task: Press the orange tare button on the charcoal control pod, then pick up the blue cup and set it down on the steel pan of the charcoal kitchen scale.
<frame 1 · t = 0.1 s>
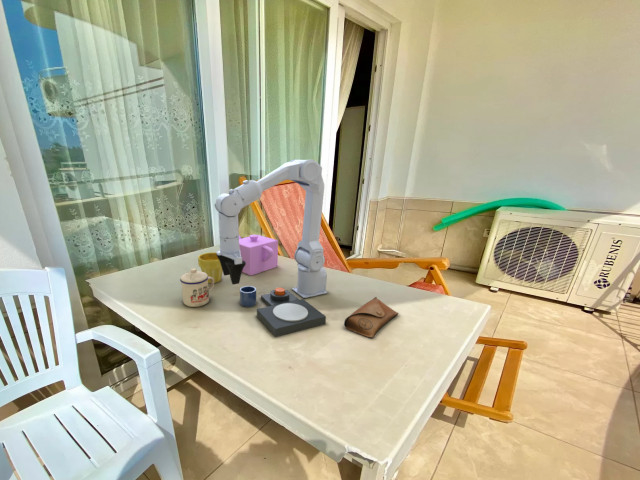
hand: (231, 279, 93), 10 cm above the table, tool pointing down, fingers open, 7 cm apart
flower pot: (213, 280, 119), on the table
blue cup: (248, 303, 99), on the table
scale: (290, 320, 89), on the table
teacup with lid: (200, 300, 103), on the table
sunglasses case: (372, 321, 87), on the table
tare button: (279, 291, 99), point 3 cm above the table, slide at 0.1 cm
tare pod: (279, 301, 100), on the table
teapot: (252, 266, 132), on the table
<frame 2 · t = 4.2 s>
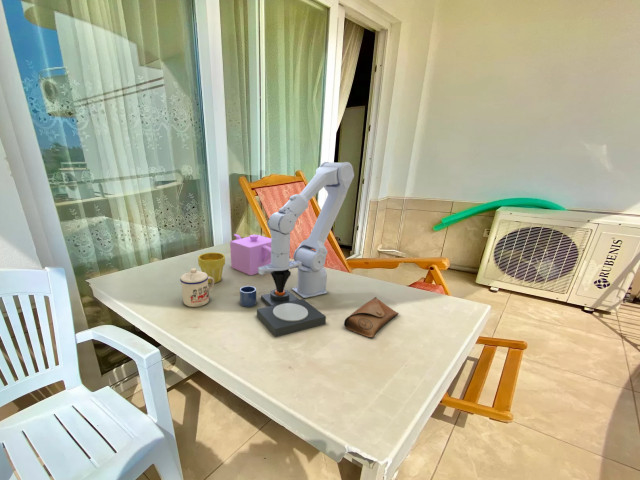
hand: (279, 291, 99), 4 cm above the table, tool pointing down, fingers closed, pressing on tare button
tare button: (279, 293, 99), point 3 cm above the table, slide at -0.5 cm, touching gripper
everything else where it was.
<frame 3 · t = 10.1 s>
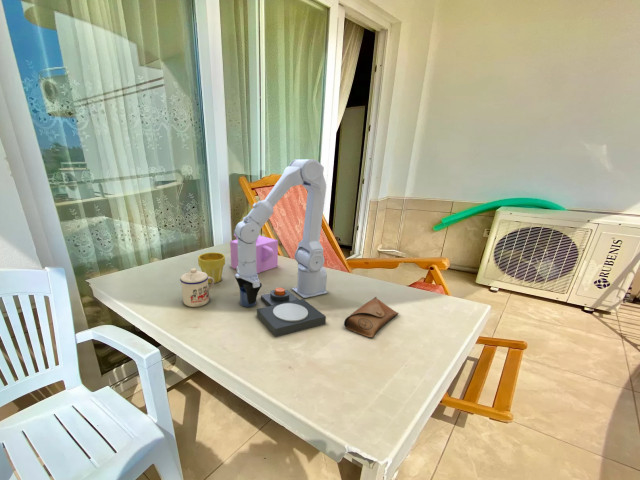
hand: (248, 299, 99), 1 cm above the table, tool pointing down, fingers closed on blue cup, 5 cm apart
blue cup: (248, 303, 99), on the table, touching gripper
tare button: (279, 291, 99), point 3 cm above the table, slide at 0.1 cm
everything else where it was.
when the fingers open (4 cm above the table, at t = 14.5 s): blue cup stays where it is, resting on scale.
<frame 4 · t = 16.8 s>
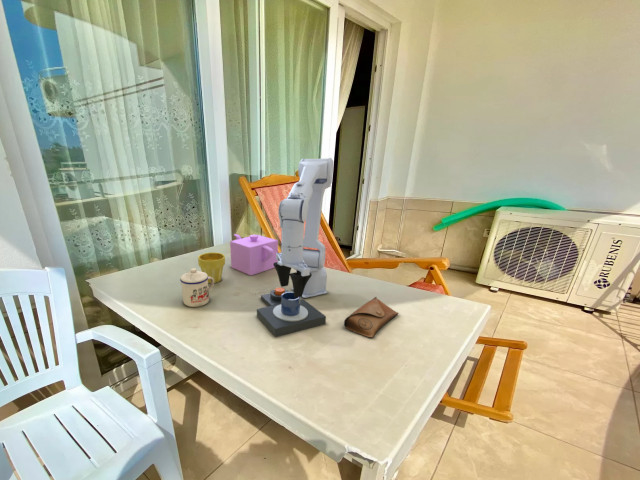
hand: (290, 290, 85), 9 cm above the table, tool pointing down, fingers open, 7 cm apart
blue cup: (290, 311, 87), point 3 cm above the table, touching scale
everything else where it was.
at the end: tare button pushed in 0.9 cm at the most during the clip, back to where it started at the end; blue cup inside the target area on the scale (0.1 cm from its centre), point 2.9 cm above the scale's base; blue cup tilted 0° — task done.
